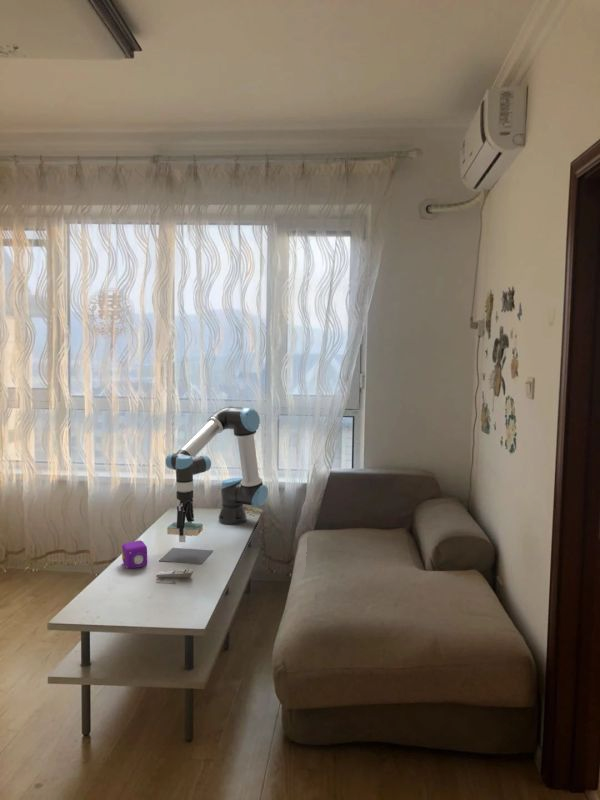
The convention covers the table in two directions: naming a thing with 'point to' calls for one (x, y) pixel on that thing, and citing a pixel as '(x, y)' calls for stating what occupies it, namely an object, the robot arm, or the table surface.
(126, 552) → the toy camera
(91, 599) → the table surface
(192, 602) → the table surface
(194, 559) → the mat
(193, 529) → the tile
